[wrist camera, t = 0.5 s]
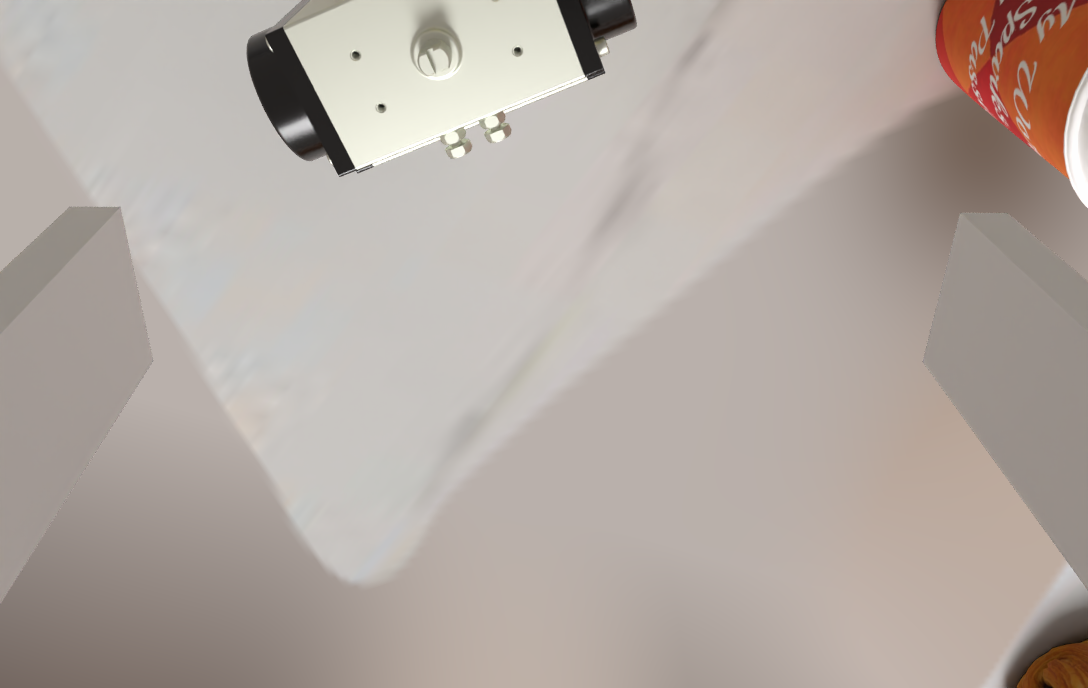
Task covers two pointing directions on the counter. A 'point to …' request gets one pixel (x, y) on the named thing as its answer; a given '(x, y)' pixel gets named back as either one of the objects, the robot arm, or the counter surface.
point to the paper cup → (1025, 72)
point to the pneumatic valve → (420, 70)
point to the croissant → (1059, 668)
